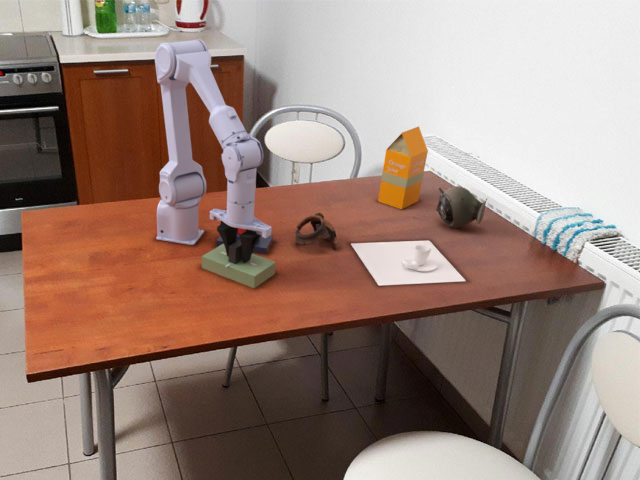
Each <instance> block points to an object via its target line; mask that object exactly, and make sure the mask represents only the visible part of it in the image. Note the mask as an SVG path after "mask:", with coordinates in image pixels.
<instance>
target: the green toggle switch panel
mask: <svg viewBox="0 0 640 480" xmlns="http://www.w3.org/2000/svg"><path fill="white" fill-rule="evenodd" d="M228 261H229V257H228V256H227V253H226V249H225V246H224V244H222V245H220V246H219V247H215V248H213V249H211V250H210V251H208V252H206V253H205V254H203V255H202V256H201V268H202V269H203V270H206V271H209V272H211V273H214V274H216V275H219V276H221V277H224V278H226V279H228V280H232V281H234V282H237V283H239V284H242V285H243V286H248V287H250V288H252V289H256V288H257V287H259V286H260V285H261V284H263V283H265V281H268V279H270V278H271V277H273V276H274V275H275V274H276V264H277V262H276V261H274V260H271V259H268V258H265V257H262V256H260V255H257V254H256V253H252V255H251V259H250V260H249V261H247V262H246V263H244V262H242V260H241V261H239V262H238V263H236V264H233V263H231V262H228Z"/></svg>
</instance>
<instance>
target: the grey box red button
mask: <svg viewBox="0 0 640 480" xmlns="http://www.w3.org/2000/svg"><path fill="white" fill-rule="evenodd" d="M239 235H240V234H238V233H237V238H236V242H237V241H238V240H240V237H239ZM273 243H274V235H272V234H271V235H270V236H269V237H267V238H264V237H262V235H261V236H260V238H259V239H258V241H257V243H256V245H255V247H254V249H253V252H252V254H260V255H265V256H266V255H267V254H268V252H269V251H270V248H271V247H272V244H273ZM215 244H216V247H215V248H217V247H219V246H220V245H222V244H224V243H223V240H222V238H221V236H220V235H219V236H218V237H217V238H216V243H215Z"/></svg>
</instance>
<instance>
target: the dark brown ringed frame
mask: <svg viewBox="0 0 640 480" xmlns="http://www.w3.org/2000/svg"><path fill="white" fill-rule="evenodd" d="M309 223H310V225H311V227H312V229H313V232H311V233H309V234H302V233H300V232H301V231H300V230H302V228H303V227H304V226H306V225H307V224H309ZM294 234H295V243H296V244H297V245H300V246H310V245H317V246H320V242H319V241H320V238H322V239H323V238H325V240H326V241H332V242H333V246H334V250H337V249H338V235H337V232H336V230H335V227H334V226H333V225H332V223H331V222H330V221H328V220H326V219H325V216H324V214H323V213H322V212H317V213H315V214H314V215H309V216H306V217H304V218H303V219H301V220H300V221H299V222H298V223H297V224H296V230H295V232H294Z"/></svg>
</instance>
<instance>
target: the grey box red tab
mask: <svg viewBox="0 0 640 480" xmlns="http://www.w3.org/2000/svg"><path fill="white" fill-rule="evenodd" d="M241 260H242V244H241V240H238V241H237V242H235V243H233V244H231V245H230V246H229V261H228V262H231V263H233V264H236V263H238V262H239V261H241Z"/></svg>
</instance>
